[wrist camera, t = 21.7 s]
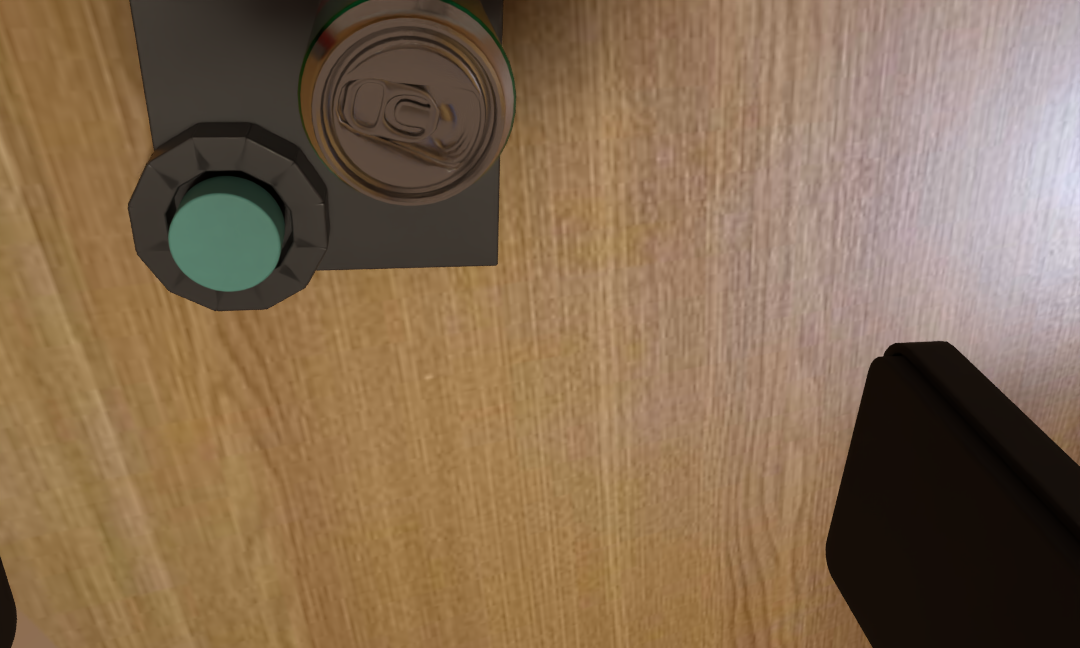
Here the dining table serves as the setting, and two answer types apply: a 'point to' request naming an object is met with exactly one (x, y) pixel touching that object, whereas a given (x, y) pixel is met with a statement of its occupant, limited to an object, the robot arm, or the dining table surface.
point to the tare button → (227, 234)
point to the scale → (274, 153)
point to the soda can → (406, 96)
